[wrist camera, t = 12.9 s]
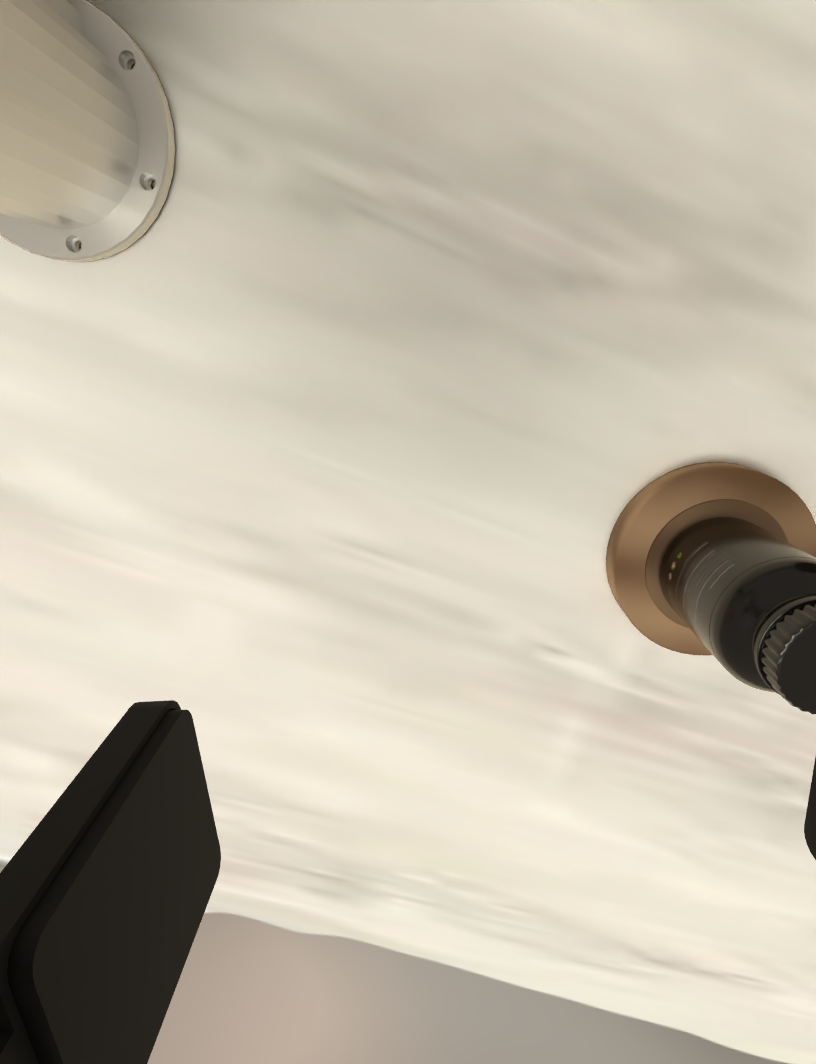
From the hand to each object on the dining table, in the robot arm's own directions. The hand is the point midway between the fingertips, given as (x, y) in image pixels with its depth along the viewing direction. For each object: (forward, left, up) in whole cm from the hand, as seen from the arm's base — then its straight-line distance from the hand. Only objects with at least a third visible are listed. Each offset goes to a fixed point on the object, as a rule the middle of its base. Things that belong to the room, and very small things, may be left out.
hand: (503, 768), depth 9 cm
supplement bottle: (+8, +15, -28) cm, 32 cm away
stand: (+8, +16, -30) cm, 34 cm away
